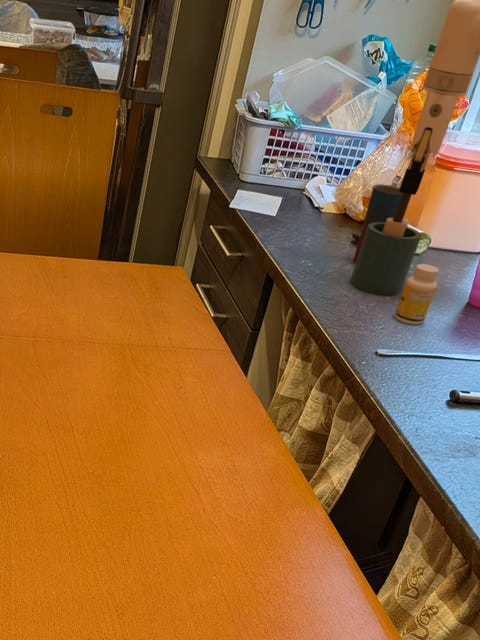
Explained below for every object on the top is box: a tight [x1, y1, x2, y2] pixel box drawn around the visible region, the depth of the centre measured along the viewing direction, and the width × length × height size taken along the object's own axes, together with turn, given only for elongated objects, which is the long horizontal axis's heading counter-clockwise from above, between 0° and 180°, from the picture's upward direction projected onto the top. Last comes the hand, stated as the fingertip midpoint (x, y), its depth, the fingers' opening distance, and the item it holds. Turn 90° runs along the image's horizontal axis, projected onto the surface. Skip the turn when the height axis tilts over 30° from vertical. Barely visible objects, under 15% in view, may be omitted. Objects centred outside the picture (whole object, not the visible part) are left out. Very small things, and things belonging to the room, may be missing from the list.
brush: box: [382, 193, 413, 237], centre depth 180 cm, size 4×4×14 cm
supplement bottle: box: [394, 263, 440, 326], centre depth 174 cm, size 5×5×10 cm
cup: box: [353, 183, 402, 264], centre depth 197 cm, size 7×7×15 cm
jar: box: [349, 222, 422, 296], centre depth 187 cm, size 10×10×11 cm
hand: (408, 190), depth 179 cm, fingers closed on brush
